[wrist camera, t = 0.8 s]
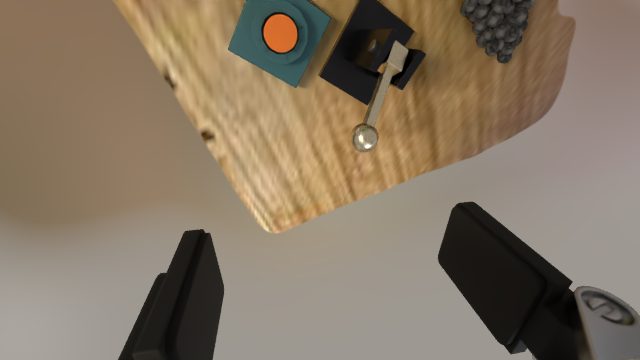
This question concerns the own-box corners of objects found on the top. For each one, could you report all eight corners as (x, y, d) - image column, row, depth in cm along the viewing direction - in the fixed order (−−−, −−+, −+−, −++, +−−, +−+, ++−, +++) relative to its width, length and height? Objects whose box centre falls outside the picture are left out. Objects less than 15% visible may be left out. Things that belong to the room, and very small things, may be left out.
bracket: (365, 103, 43) (395, 126, 33) (318, 75, 39) (336, 90, 29) (410, 31, 39) (461, 31, 28) (362, -8, 35) (401, -24, 25)
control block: (229, 48, 36) (225, 50, 32) (260, -31, 32) (259, -38, 29) (294, 85, 39) (297, 90, 36) (328, 18, 36) (334, 17, 32)
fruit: (558, 58, 35) (548, -73, 27) (490, 89, 38) (464, -19, 31) (525, 41, 41) (509, -68, 34) (469, 69, 45) (443, -24, 37)
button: (258, 40, 33) (258, 40, 31) (272, 7, 31) (272, 6, 30) (287, 57, 34) (288, 59, 33) (301, 27, 33) (303, 27, 31)
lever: (362, 157, 31) (379, 155, 28) (340, 146, 30) (355, 143, 27) (395, 61, 33) (414, 50, 30) (376, 47, 31) (394, 34, 28)
